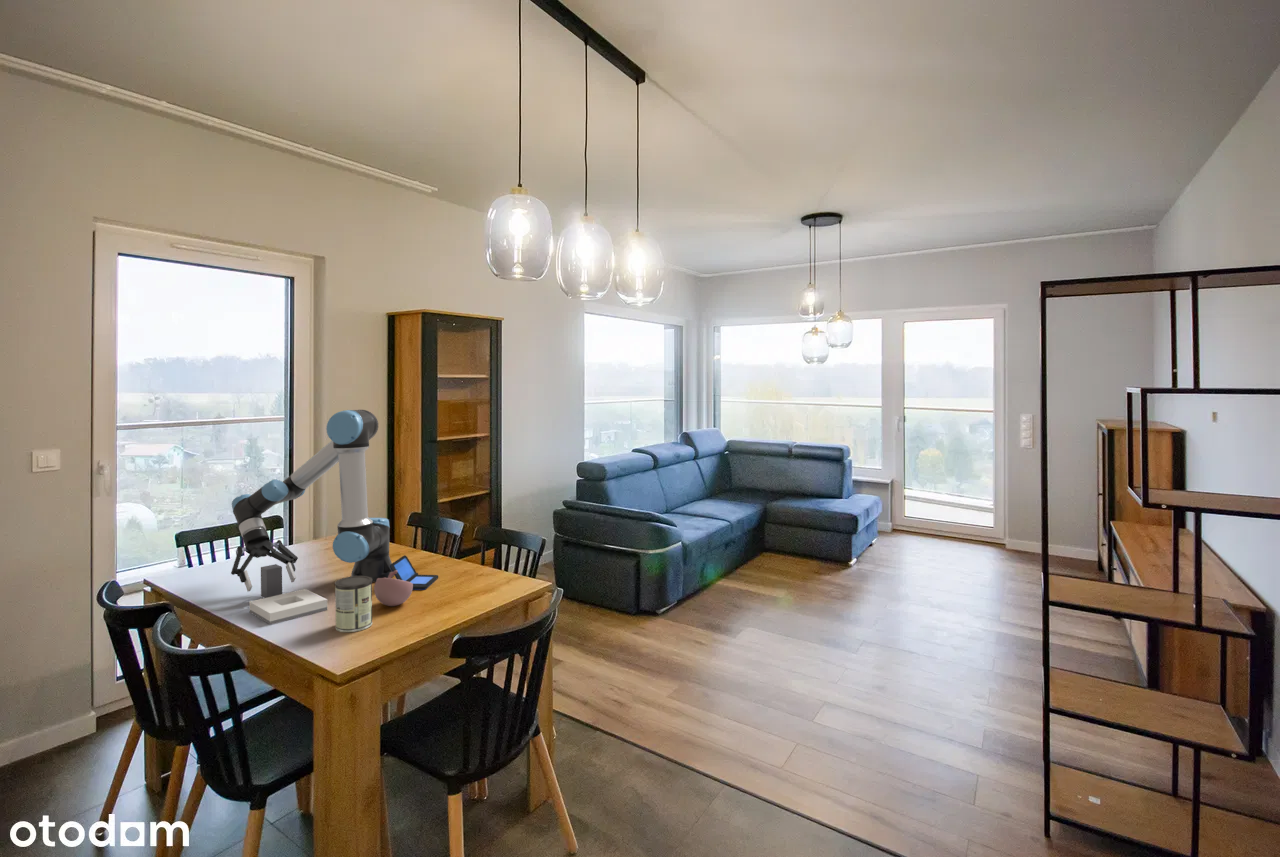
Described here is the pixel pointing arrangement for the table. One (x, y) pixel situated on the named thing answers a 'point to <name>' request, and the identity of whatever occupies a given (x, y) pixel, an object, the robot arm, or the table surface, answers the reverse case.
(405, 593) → the mortar and pestle
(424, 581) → the handheld game console
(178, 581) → the table surface
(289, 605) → the socket
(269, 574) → the plug
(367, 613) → the coffee can
